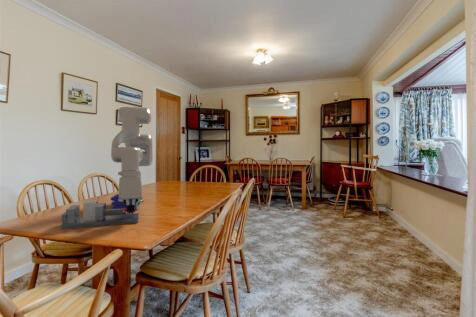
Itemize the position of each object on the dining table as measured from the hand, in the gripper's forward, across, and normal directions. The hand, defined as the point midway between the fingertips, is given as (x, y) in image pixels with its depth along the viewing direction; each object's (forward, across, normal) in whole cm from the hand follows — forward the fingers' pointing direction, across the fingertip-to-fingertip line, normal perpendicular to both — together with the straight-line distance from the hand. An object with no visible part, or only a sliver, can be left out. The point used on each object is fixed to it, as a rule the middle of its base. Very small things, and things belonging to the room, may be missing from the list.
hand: (131, 212), depth 125 cm
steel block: (+2, -17, 0) cm, 17 cm away
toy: (+4, -4, +24) cm, 25 cm away
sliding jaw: (+1, -8, 0) cm, 8 cm away
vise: (+4, -12, 0) cm, 12 cm away
